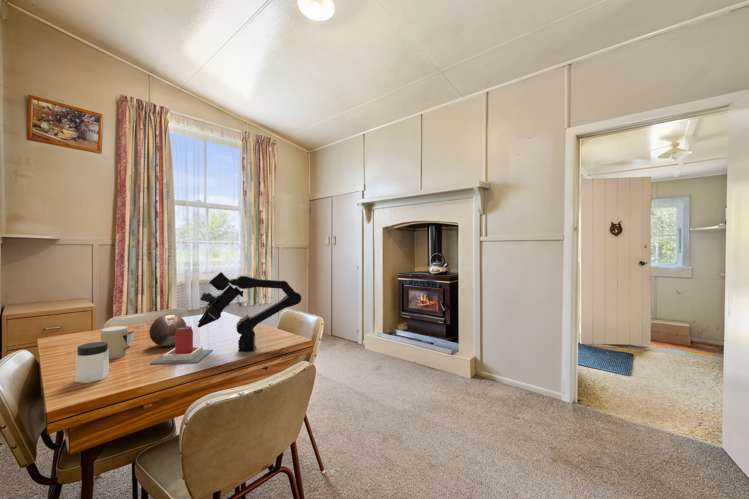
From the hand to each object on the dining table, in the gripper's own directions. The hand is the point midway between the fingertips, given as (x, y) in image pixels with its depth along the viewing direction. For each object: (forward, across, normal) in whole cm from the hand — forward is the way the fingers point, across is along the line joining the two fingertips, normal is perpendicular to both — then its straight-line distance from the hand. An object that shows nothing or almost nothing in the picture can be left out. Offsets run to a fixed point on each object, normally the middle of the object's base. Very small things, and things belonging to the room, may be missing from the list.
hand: (198, 324), depth 140 cm
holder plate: (+13, 0, +5) cm, 14 cm away
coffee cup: (+32, -14, -14) cm, 38 cm away
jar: (+32, +13, -14) cm, 37 cm away
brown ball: (+19, -22, 0) cm, 29 cm away
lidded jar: (+33, -28, -15) cm, 46 cm away
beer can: (+13, 0, +5) cm, 14 cm away
